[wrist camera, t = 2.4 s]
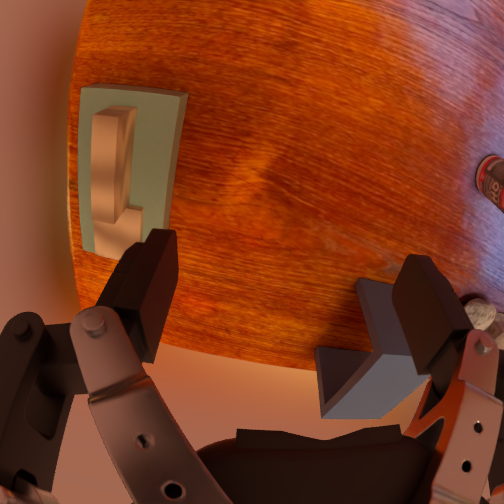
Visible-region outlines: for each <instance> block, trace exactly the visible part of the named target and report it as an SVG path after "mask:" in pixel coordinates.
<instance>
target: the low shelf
mask: <svg viewBox="0 0 504 504" xmlns="http://www.w3.org/2000/svg"><path fill="white" fill-rule="evenodd" d="M188 94H189V93H187V92H181V91H174V90H167V89H159V88H150V87H141V86H131V85H118V84H103V83H95V84H91V85H88V86H84V87H81V96H80V109H79V127H78V192H79V210H80V224H81V235H82V245H83V250H85V251H89V252H93V253H95V241H94V226H93V220H92V210H91V139H92V121H93V114H95V113H97V112H99V111H102V110H104V109H106V108H108V107H111V106H113V105H118V106H128V107H137V113H136V121H135V130H134V140H133V151H132V163H131V178H130V197H129V205H134V206H138V207H143V208H144V211H143V231H142V242H145V240H146V238H147V237H148V235H149V233H150V231H151V230H152V228H159V229H169V220H170V211H171V202H172V194H173V186H174V179H175V171H176V164H177V158H178V151H179V145H180V138H181V132H182V127H183V121H184V115H185V110H186V104H187V99H188Z"/></svg>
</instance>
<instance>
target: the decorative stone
mask: <svg viewBox="0 0 504 504" xmlns="http://www.w3.org/2000/svg"><path fill="white" fill-rule="evenodd" d="M464 309H465V311H466V313H467V315H468V317H469V318H470V320H471V322H472V324H473V326H474V328H475V329H481V330H484V329H486V328H487V327H488V326H489V325H490V324H491V322H492V321H493V320H494V318H495V315H496V309H495V307H494V306H493V305H492V304H491V303H489V302H486V301H484V300H482V299H480V298H476V299H473V300H470V301H469V302H468V303H467V304H466V305H465V306H464Z"/></svg>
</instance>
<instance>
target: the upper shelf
mask: <svg viewBox="0 0 504 504" xmlns="http://www.w3.org/2000/svg"><path fill="white" fill-rule="evenodd" d="M393 286H394V285H391V284H387V283H382V282H377V281H372V280H368V279H363V278H359V280H358V282H357V283H356V285H355V288H356V291H357V295H358V298H359V301H360V305H361V308H362V312H363V315H364V319H365V322H366V326H367V329H368V333H369V337H370V340H371V344H372V348H373V352H372V353H371V352H363V351H354V350H345V349H336V348H328V347H320V346H318V347H317V348H316V350H315V351H314V352H315V361H316V370H317V380H318V389H319V400H320V409H321V410H320V411H321V418H322V419H381V418H382V417H383V416H384V415H386V414H387V413H388V412H389V411H391V410H392V409H393V408H394V407H396V406H397V405H398V404H399V403H400V402H401V401H403V400H404V399H405V398H406V397H407V396H408V395H410V394H411V393H412V392H413V391H414V390H415V389H417V388H418V387H419V386H420V385H421V384H422V383H423V382H424V381H425V380H426V379H427V378H429V377H430V376H431V374H429V375H419V376H418V374H417V371H416V368H415V365H414V362H413V359H412V356H411V353H410V350H409V347H408V344H407V341H406V338H405V335H404V333H403V330H402V327H401V324H400V322H399V319H398V316H397V314H396V311H395V308H394V306H393V303H392V289H393Z"/></svg>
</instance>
